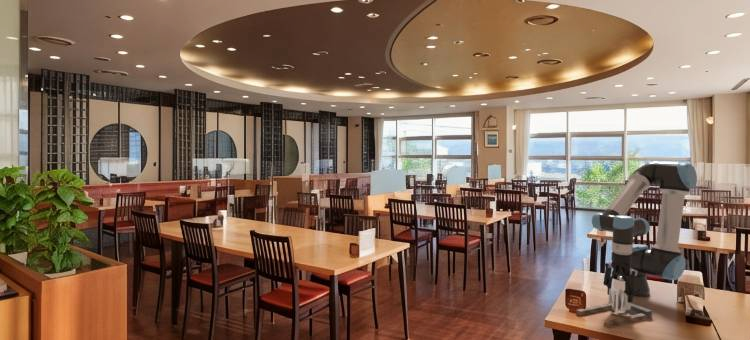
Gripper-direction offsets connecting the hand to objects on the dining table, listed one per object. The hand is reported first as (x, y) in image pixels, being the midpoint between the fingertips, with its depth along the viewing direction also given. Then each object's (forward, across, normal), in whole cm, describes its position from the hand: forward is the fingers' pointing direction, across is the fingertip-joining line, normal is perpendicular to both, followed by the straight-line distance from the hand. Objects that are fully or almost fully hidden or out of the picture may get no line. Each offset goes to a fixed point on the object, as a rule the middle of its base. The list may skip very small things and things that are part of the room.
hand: (619, 306), depth 184 cm
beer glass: (+3, 0, 0) cm, 3 cm away
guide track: (+4, 0, -3) cm, 5 cm away
